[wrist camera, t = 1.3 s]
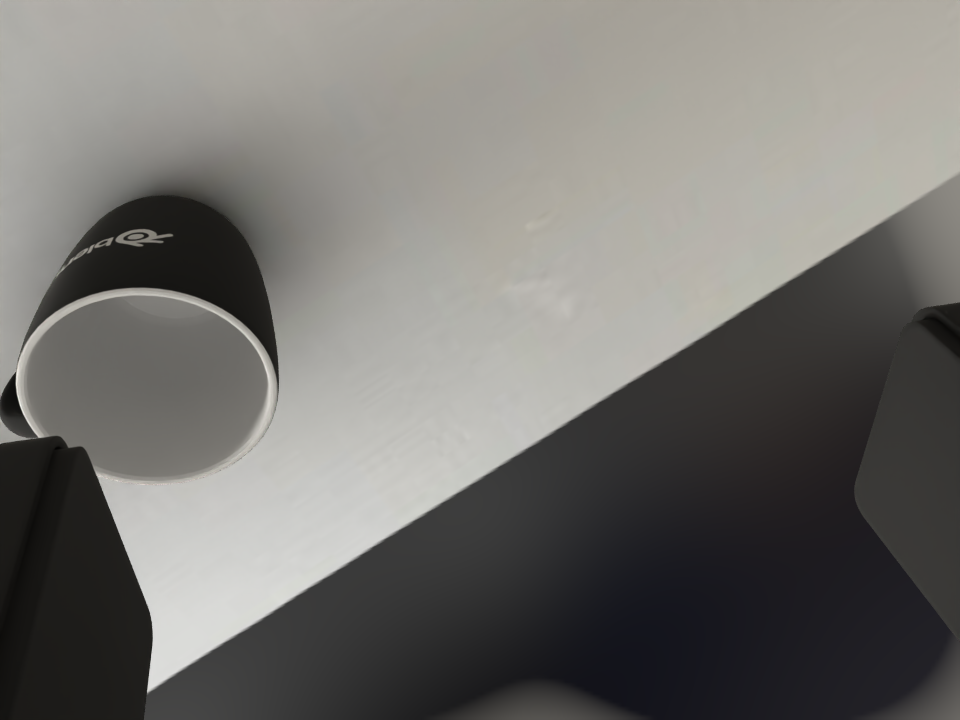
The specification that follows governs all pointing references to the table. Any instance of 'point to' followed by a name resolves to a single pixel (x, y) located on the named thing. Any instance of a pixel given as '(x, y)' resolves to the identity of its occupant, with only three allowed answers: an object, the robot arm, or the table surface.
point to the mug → (151, 347)
